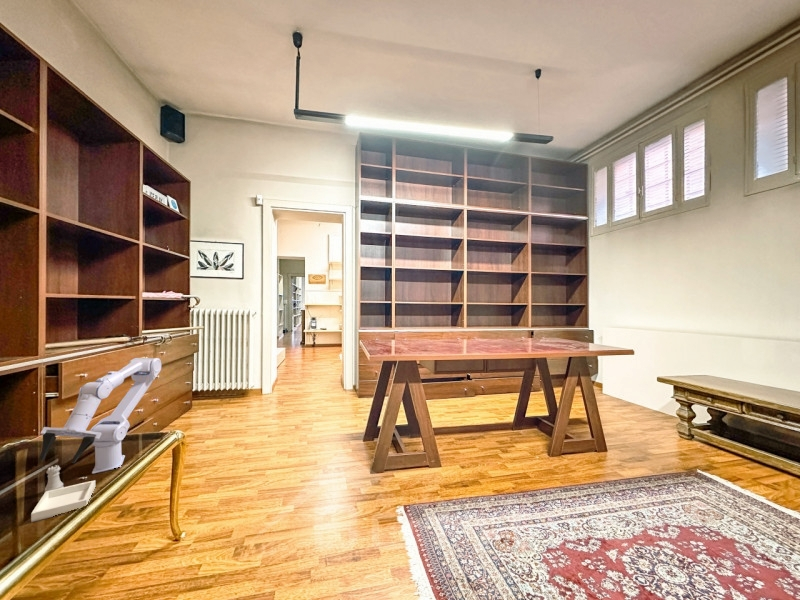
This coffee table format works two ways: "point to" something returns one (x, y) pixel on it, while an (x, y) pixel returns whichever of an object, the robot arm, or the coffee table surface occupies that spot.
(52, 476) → the rook chess piece
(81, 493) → the tray
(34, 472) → the coffee table surface
